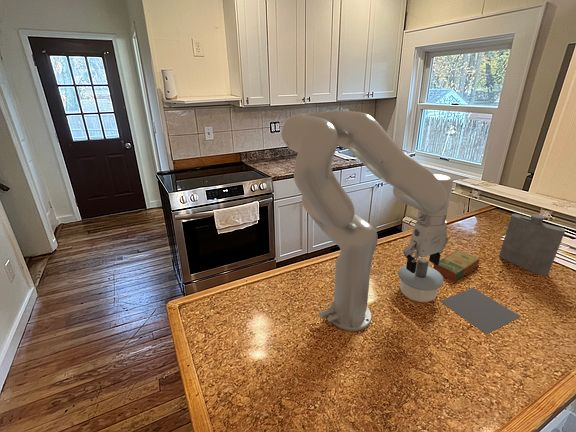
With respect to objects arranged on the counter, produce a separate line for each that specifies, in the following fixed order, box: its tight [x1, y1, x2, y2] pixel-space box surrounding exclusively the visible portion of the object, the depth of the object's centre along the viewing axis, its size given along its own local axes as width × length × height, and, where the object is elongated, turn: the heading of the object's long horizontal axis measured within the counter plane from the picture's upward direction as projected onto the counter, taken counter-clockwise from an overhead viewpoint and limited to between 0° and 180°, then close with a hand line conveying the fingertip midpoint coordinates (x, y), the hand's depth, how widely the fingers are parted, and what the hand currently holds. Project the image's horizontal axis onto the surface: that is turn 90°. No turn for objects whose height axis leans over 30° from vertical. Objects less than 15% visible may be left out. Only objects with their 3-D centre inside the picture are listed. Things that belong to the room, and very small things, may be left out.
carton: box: [432, 249, 480, 282], centre depth 109 cm, size 8×16×4 cm, turn 124°
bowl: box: [399, 279, 439, 303], centre depth 97 cm, size 11×11×6 cm
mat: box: [440, 287, 522, 335], centre depth 90 cm, size 15×15×1 cm
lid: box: [398, 258, 444, 291], centre depth 95 cm, size 13×13×6 cm
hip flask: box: [499, 213, 566, 277], centre depth 107 cm, size 16×4×20 cm, turn 29°
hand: (422, 266), depth 94 cm, fingers open, 9 cm apart
